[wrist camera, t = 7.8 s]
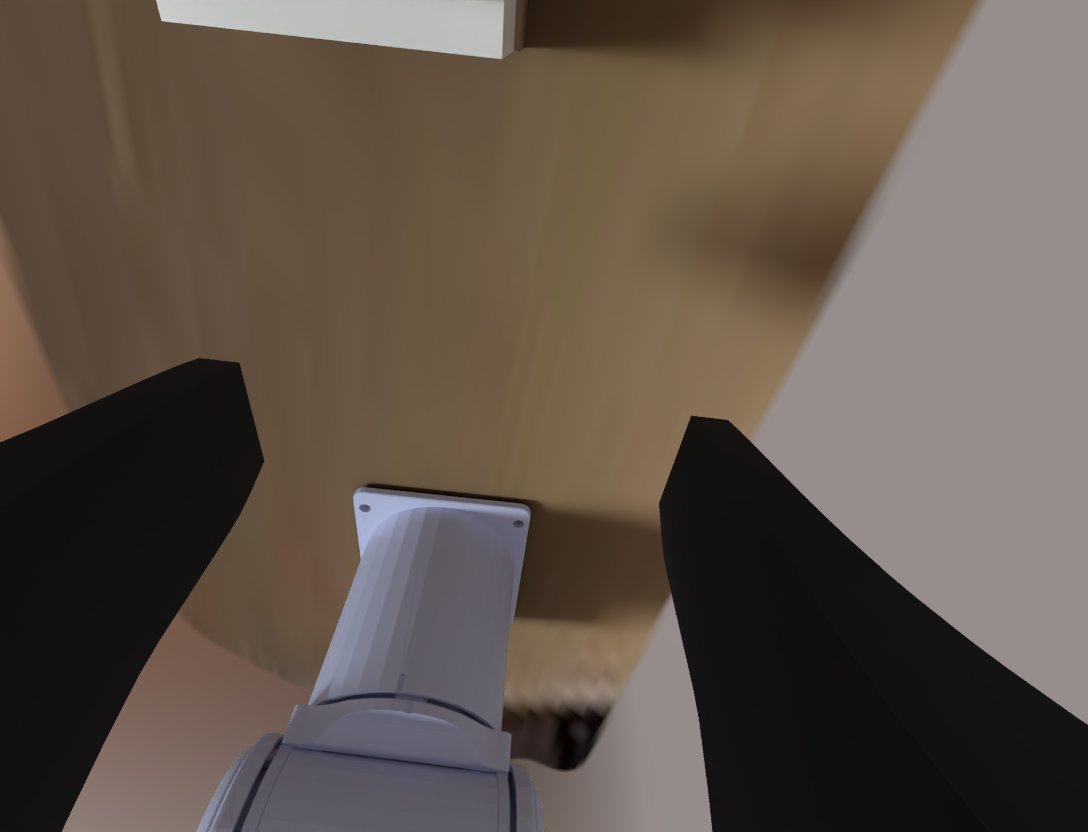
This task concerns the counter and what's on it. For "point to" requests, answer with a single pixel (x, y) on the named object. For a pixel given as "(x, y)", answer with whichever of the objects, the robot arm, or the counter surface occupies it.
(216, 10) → the top slab
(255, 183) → the counter surface
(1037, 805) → the robot arm
